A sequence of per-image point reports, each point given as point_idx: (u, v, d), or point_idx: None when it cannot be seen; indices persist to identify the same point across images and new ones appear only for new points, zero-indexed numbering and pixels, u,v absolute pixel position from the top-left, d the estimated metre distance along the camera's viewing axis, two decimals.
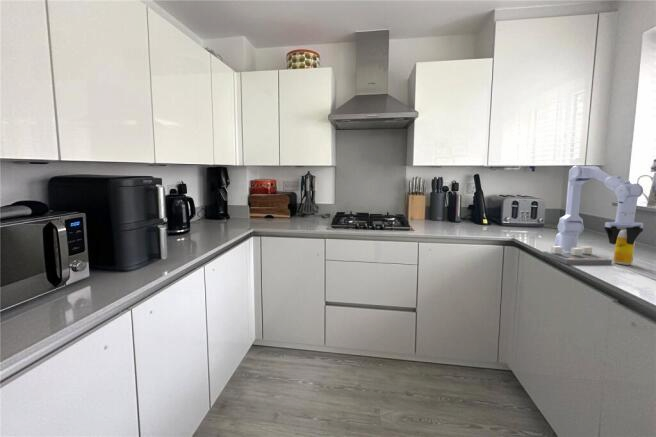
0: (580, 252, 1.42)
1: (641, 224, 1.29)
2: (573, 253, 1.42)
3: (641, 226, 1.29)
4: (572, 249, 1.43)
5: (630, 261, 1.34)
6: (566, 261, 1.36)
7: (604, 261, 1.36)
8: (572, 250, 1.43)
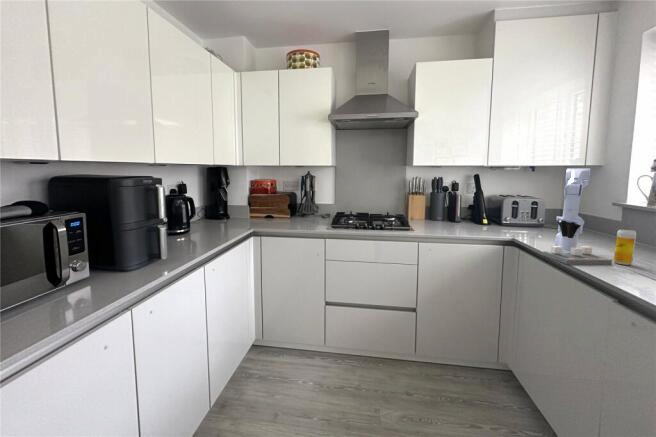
0: (580, 252, 1.42)
1: (578, 221, 1.41)
2: (573, 253, 1.42)
3: (578, 223, 1.40)
4: (572, 249, 1.43)
5: (630, 261, 1.34)
6: (566, 261, 1.36)
7: (604, 261, 1.36)
8: (572, 250, 1.43)
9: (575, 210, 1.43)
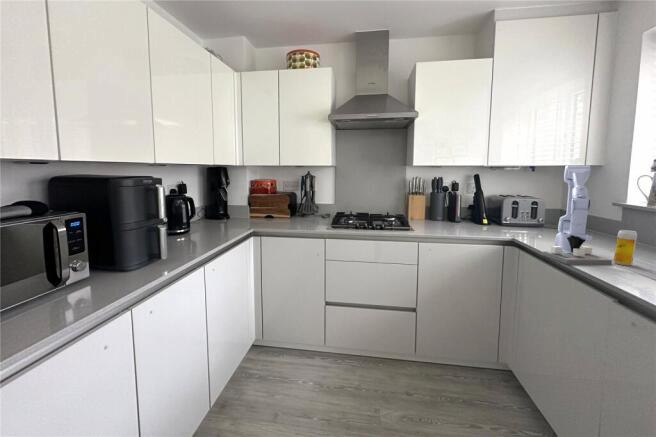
0: (583, 253, 1.40)
1: (585, 237, 1.36)
2: (576, 254, 1.41)
3: (586, 239, 1.36)
4: (575, 250, 1.41)
5: (630, 262, 1.34)
6: (566, 261, 1.36)
7: (604, 261, 1.36)
8: (575, 251, 1.41)
9: (582, 225, 1.39)
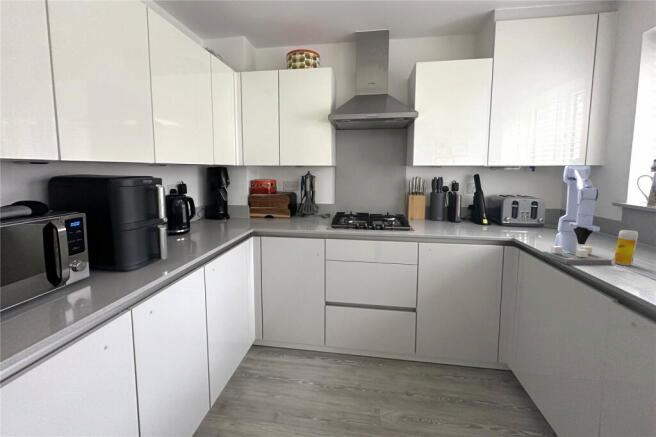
0: (586, 254, 1.39)
1: (593, 227, 1.32)
2: (578, 255, 1.39)
3: (593, 230, 1.32)
4: (577, 251, 1.40)
5: (629, 262, 1.34)
6: (566, 261, 1.36)
7: (604, 261, 1.36)
8: (577, 252, 1.40)
9: (590, 215, 1.35)
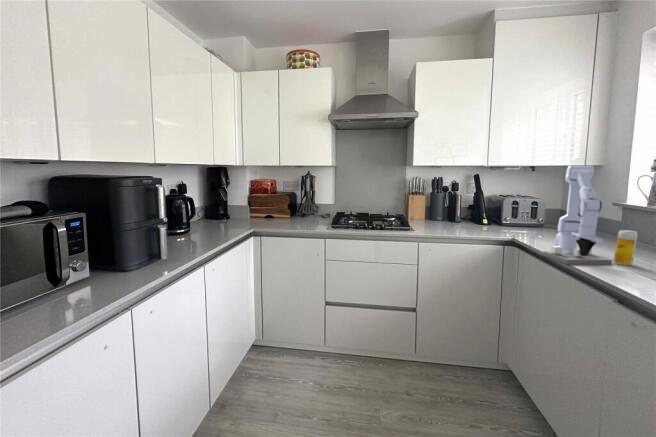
0: None
1: (596, 240, 1.31)
2: (576, 254, 1.40)
3: (597, 242, 1.31)
4: (575, 250, 1.41)
5: (629, 262, 1.34)
6: (566, 261, 1.36)
7: (604, 261, 1.36)
8: (575, 251, 1.41)
9: (593, 227, 1.34)
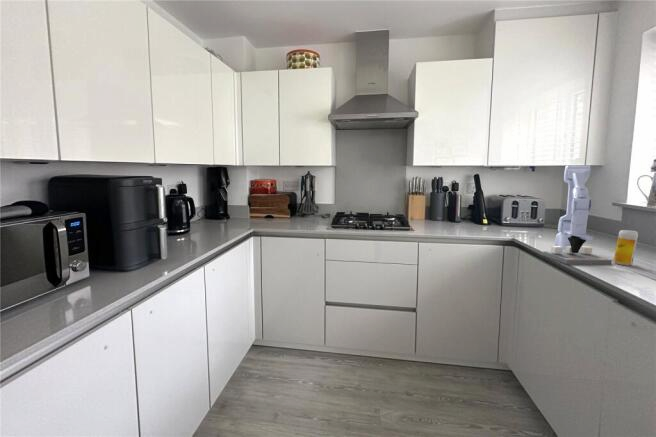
0: None
1: (586, 237, 1.36)
2: (568, 251, 1.45)
3: (587, 239, 1.36)
4: (567, 247, 1.46)
5: (629, 262, 1.34)
6: (566, 261, 1.36)
7: (604, 261, 1.36)
8: (567, 248, 1.46)
9: (583, 225, 1.39)
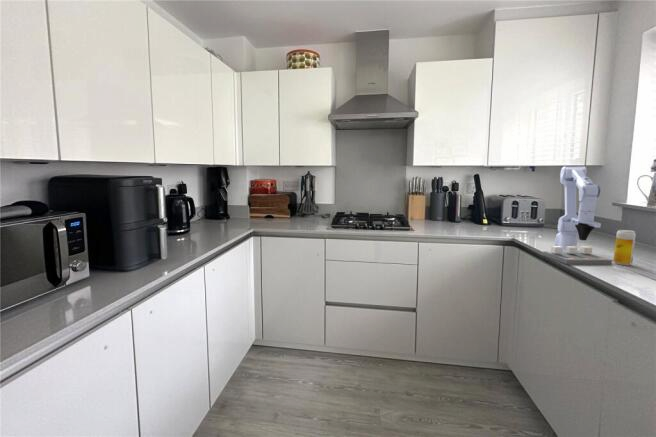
0: (575, 250, 1.45)
1: (594, 224, 1.35)
2: (568, 251, 1.45)
3: (595, 226, 1.35)
4: (567, 247, 1.46)
5: (629, 262, 1.34)
6: (566, 261, 1.36)
7: (604, 261, 1.36)
8: (567, 248, 1.46)
9: (591, 212, 1.38)
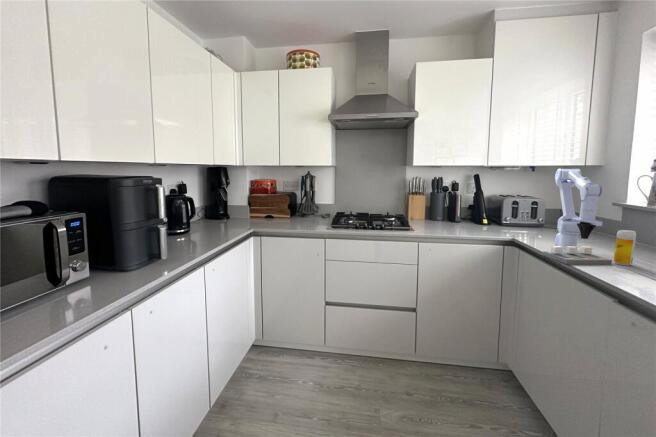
0: (575, 250, 1.45)
1: (596, 222, 1.38)
2: (568, 251, 1.45)
3: (596, 224, 1.38)
4: (567, 247, 1.46)
5: (628, 262, 1.34)
6: (566, 261, 1.36)
7: (604, 261, 1.36)
8: (567, 248, 1.46)
9: (593, 211, 1.41)
